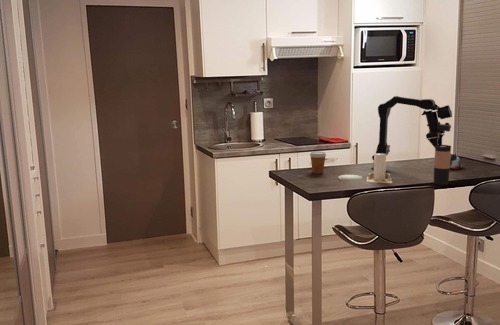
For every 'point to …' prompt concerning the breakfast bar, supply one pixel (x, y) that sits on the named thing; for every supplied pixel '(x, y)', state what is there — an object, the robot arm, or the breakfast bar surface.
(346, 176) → the mat
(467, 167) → the breakfast bar surface
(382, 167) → the jug
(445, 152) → the travel mug
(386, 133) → the robot arm
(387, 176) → the wooden tray
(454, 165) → the lucky cat figurine
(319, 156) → the disposable coffee cup
